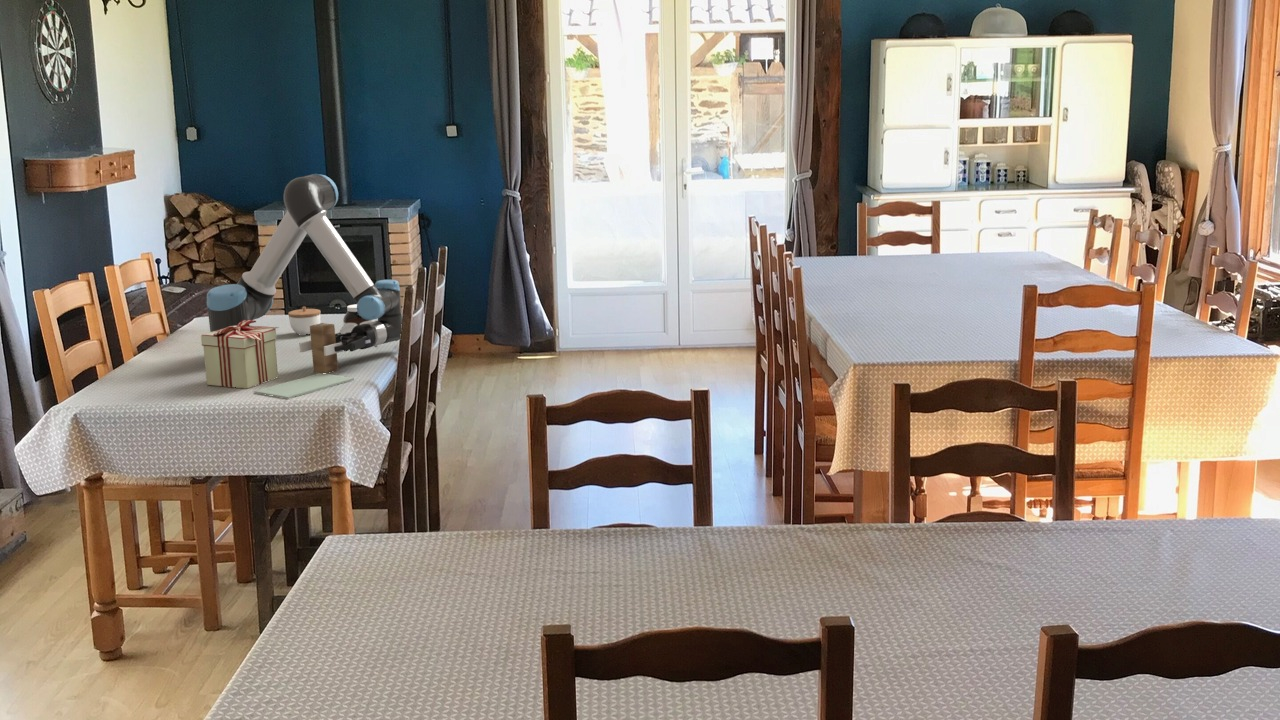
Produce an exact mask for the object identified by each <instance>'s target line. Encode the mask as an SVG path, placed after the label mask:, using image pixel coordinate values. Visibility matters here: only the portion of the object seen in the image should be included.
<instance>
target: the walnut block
mask: <svg viewBox="0 0 1280 720" xmlns="http://www.w3.org/2000/svg"><path fill="white" fill-rule="evenodd" d="M335 329H336V328H335V323H334V324H333V323H326V322H320V324H316V325H312V326H310V335H309V336H310V340H311V346H312V350H311V353H312V354H311V356H312V367H313V368H312V369H313V373H316V372H319V373H327V374H330V373H329V372H331V373H333V372H332V371H334V372H337V371H336V370H338V371H339V364H338V363H339V362H338V353H335V354H331V355H327V356H324V346H328V345H332V344H336V339H335V334H336V331H335Z"/></svg>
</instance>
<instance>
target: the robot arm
mask: <svg viewBox="0 0 1280 720" xmlns="http://www.w3.org/2000/svg"><path fill="white" fill-rule="evenodd" d="M338 201H339V191H338V187H337V185H336V182H334V180H333V179H331V178H330V177H328V176H327V175H324V174H318V173H312V174H309V175H304V176H300V177H299V176H298V177H296V178H294V179H292V180H290V181H289V182H288V183H287V184H286V186H285V188H284V191H283V203H284V206H285V208H286V212H285V214H284V216H283V218H282V219H281V221H280V222H279V224H278V226H277V227H276V229H275V231H274V232H273V234H272V235H271V237H270V238H269V240H268V241H267V244H266V245H265V247H264V248H263V250H262V251H261V253H260V255H259V257H258V258H257V259H256V262H254V265H253V266H252V268H251V270H250V271H245V272H243V273H242V275H241V276H240V277H239V280H238V281H237V283H232V284H222V285H219V286H216V287H213V288H211V289H209V290H208V292H207V293H206V307H207V313H208V314H207V316H208V324H209V325H208V326H209V333H210V332H213V331H217V330H220V329H224V328H227V327H229V326H237V324H239V323H240V322H241V321H243V320H254V321H255V320H257V319H260V318H261V317H264V315H267V313H268V312H269V311H270V310H271V308H272V307H273V302H274V297H275V295H276V294H277V288H276V284H277V282H278V281H279V279H280V278H281V276H282V275H283V273H284V271H285V270H286V268H287V266H288V264H289V263H290V262H291V261H292V259H293V257H294V256H295V253H296V252H297V250H298V249H299V247H300V246H301V245H302V242H303V241H304V239H305V237H306V236H307V235H308V237H309V238H310V239H311V241H312V242H313V244H314V245H315V246H316V248H317V249H318V250H319V253H321V255H322V256H323V257H324V259H325V260H326V261H327V263H328V265H329V266H330V267H331V269H332V270H333V272H334V273H335V274H336V276H337V277H338V278H339V280H340V282H341V283H342V284H343V286H344V287H345V288H346V290H347V291H348V292H349V294H350V295H351V296H352V298H353V300H354V301H355V302H356V304H357V312H358V314H359V315H360V316H361V317H362V318H363V319H365V320H374V321H373V322H369V323H365V324H361V325H357V326H355V327H354V328H353V329H352V331H351V332H347V333H345V334H341V333H339V332H337V333H335V339H336V344H332V345H328V346H324V356H327V355H331V354H335V353H337V354H338V353H343V352H348V351H349V352H351V353H352V352H355V351H357V350H366V349H369V348H372V347H374V348H378V347H379V345H384V344H388V343H394V342H397V341H400V340H401V339H400V334H401V324H402V316H403V314H402V301H401V300H402V298H401V288H400V283H399V281H398V280H396V279H381V280H377V281H375V283H374V281H372V280H371V278H370V276H369V275H368V273H367V272H366V271H365V269H364V268H363V266H362V265H361V264H360V262H359V261H358V259H357V257H356V256H355V255H354V253H353V252H352V251H351V249H350V248H349V246H348V245H347V243H346V242H345V241H344V240H343V238H342V236H341V235H340V233H339V232H338V230H336V228H335V227H334V225H333V223H332V222H331V221H330V220H329V217H327V212H328V211H331V210H332V209H333V208H334V207H335V206H336V205H337V203H338ZM298 345H299V353H304V352H308V351H312V346H311V339H310V340H307V341H303V342H299V344H298Z"/></svg>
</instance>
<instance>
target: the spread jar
mask: <svg viewBox="0 0 1280 720" xmlns="http://www.w3.org/2000/svg"><path fill="white" fill-rule="evenodd" d="M346 307H347V308H346V309H347V310H346V311H347V312H346V313H345V315H344V316H343V319H342V320H343V322H342V324H343V325H342V326H341V328H340V330H339V332H338V333H341V334H345V333H347V332H351V331H352V329H353V328H354V327H355V326H357V325H361V324H365V323H369V322H373V321H375V319H374V320H365V319H363V318H362V317H361V316H360V315H359V314H358V312H357V303H356V304H355V303H354V304H349V305H347V306H346Z"/></svg>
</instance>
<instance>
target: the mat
mask: <svg viewBox="0 0 1280 720" xmlns="http://www.w3.org/2000/svg"><path fill="white" fill-rule="evenodd" d="M351 380H353V381H354V380H355V379H354V378H353V377H349V376H341V375H336V374H335V375H334V374H330V373H327V374H323V373H315V374H312V375H307V376H305V377H301V378H298V379H294V380H293V379H292V380H290V381H287V382H283V383H279V384H275V385H271V386H269V387H265V388H261V389H257V390H254V394H256V393H259V394H258V395H262V394H266V395H265V396H268V395H273V396H278V397H277V398H279V397H283V398H282V399H285V398H291V399H293V398H292V397H294V398H296V397H295V396H298V397H300V396H299V395H301V396H304V395H303V394H305V395H307V393H308V394H311V392H312V393H315V392H318V391H321V389H322V390H324V388H325V389H328V388H327V387H329V388H331V387H330V386H332V387H335V386H334V385H336V386H338V385H337V384H339V385H342V384H341V383H343V384H345V383H344V382H346V383H348V382H347V381H349V382H352V381H351ZM317 390H318V391H317ZM314 391H315V392H314ZM273 396H272V397H273Z"/></svg>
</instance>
